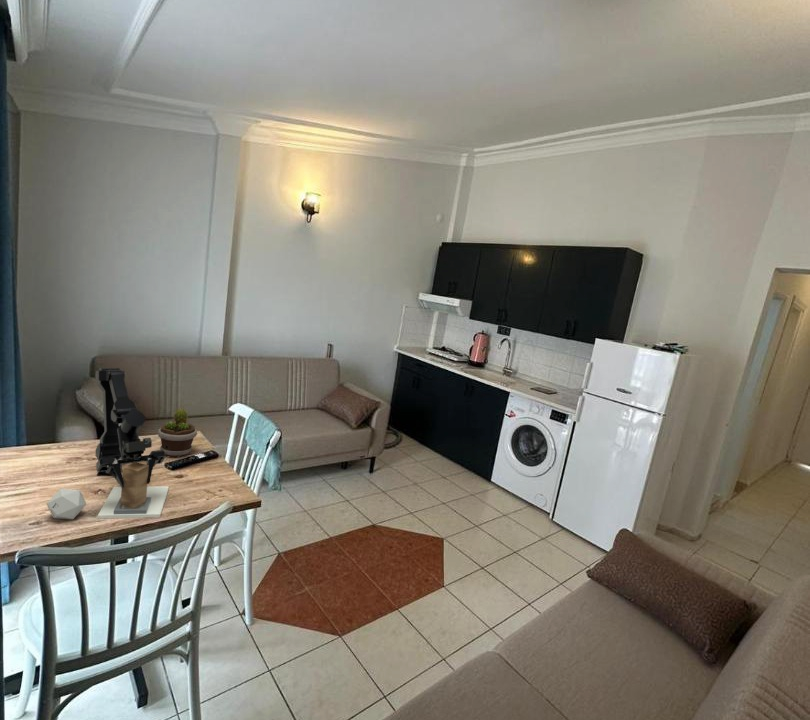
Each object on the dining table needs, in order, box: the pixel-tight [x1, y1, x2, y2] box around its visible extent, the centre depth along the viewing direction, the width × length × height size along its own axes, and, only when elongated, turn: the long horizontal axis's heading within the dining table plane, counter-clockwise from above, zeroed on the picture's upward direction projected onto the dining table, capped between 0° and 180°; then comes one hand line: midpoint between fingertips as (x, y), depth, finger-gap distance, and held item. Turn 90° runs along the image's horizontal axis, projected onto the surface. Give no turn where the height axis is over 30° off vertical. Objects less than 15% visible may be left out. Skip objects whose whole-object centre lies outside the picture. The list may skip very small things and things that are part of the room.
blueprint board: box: [96, 485, 170, 520], centre depth 152 cm, size 17×20×2 cm
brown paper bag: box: [120, 462, 149, 508], centre depth 146 cm, size 5×5×12 cm
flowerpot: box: [157, 406, 198, 458], centre depth 193 cm, size 14×15×20 cm
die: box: [46, 488, 87, 520], centre depth 138 cm, size 8×9×10 cm
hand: (135, 485), depth 145 cm, fingers closed on brown paper bag, 7 cm apart
